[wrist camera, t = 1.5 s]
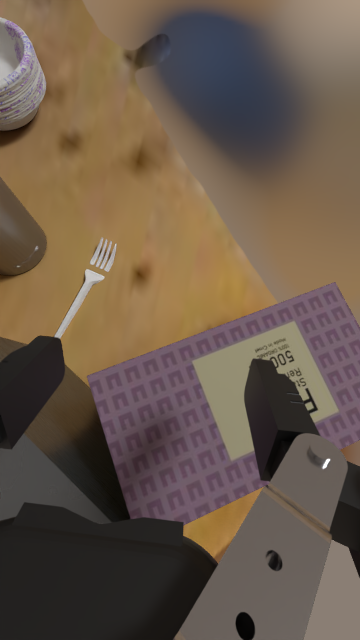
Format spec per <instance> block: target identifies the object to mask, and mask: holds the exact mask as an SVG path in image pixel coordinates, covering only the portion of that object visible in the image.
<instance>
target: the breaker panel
mask: <svg viewBox="0 0 360 640" xmlns="http://www.w3.org/2000/svg"><path fill="white" fill-rule="evenodd" d="M27 345H28V344H24V343H20V342H16V341H13V340H9V339H5V338H2V337H0V362H1V360H3V359H4V358H5V357H6V356H7V355H9V354H10V353H11V352H13V351H15V350H17V349H19V348H21V347H23V346H27ZM24 502H27V503H35V504H43V505H51V506H59V507H64V508H66V509H68V510H70V511H72V512H74V513H76V514H78V515H81V516H83V517H85V518H87V519H89V520H91V521H93V522H95V523H98V524H106V523H112V522H118V521H124V520H130V515H129V512H128V509H127V505H126V502H125V499H124V496H123V492H122V489H121V486H120V483H119V479H118V476H117V473H116V470H115V466H114V463H113V460H112V457H111V453H110V450H109V447H108V443H107V440H106V437H105V434H104V430H103V427H102V424H101V421H100V417H99V414H98V411H97V408H96V404H95V401H94V398H93V395H92V391H91V389H90V388H89V387H88V386H87V385H86V384H85V383H84V382H83V381H82V380H81V379H80V378H79V377H78V376H77V375H76V374H75V373H73V372H72V371H71V370H70V369H69V368H68V367H67V366H66V365H65V375H64V378H63V380H62V382H61V384H60V385H59V386H58V388H57V389H56V390H55V392H54V393H53V395H52V396H51V397H50V399H49V400H48V401H47V403H46V404H45V405H44V407H43V408H42V409H41V411H40V412H39V413H38V415H37V416H36V417H35V419H34V420H33V422H32V423H31V424H30V426H29V427H28V428H27V430H26V431H25V432H24V434H23V435H22V436H21V438H20V439H19V440H18V442H17V443H16V444H15V446H14V447H13V449H12V450H11V449H2V448H0V521H1V520H5V519H8V518H12V517H16V516H17V514H18V512H19V511H20V509H21V507H22V505H23V504H24Z"/></svg>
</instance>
